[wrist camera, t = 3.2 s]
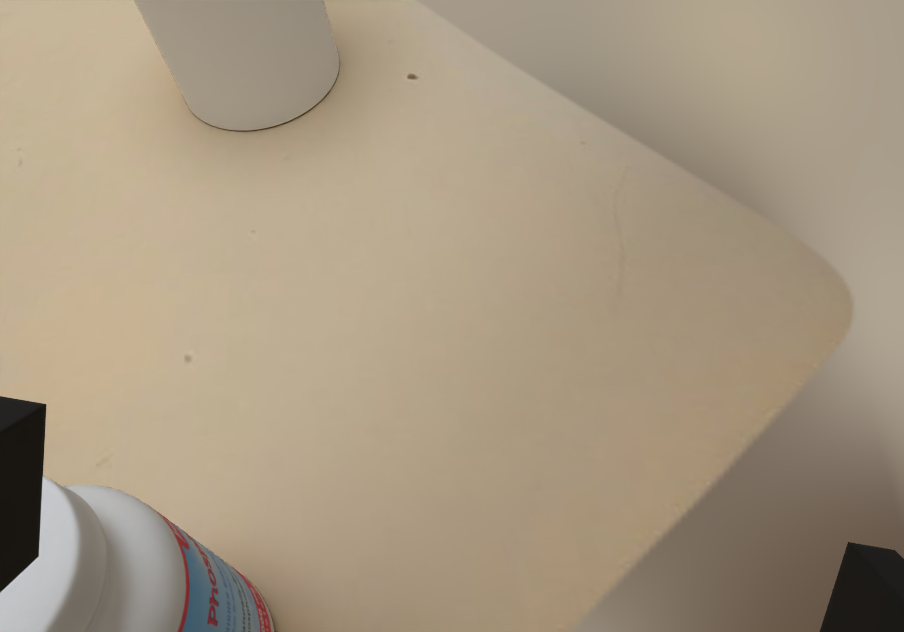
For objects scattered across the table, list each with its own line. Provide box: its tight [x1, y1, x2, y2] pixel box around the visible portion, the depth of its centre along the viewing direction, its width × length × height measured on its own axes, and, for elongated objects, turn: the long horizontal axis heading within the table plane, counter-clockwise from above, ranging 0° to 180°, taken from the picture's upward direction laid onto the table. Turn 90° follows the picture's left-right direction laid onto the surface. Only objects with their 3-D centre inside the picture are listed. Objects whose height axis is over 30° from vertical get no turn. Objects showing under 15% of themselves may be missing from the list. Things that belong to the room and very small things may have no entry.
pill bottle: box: [0, 476, 274, 632], centre depth 20 cm, size 6×6×11 cm
